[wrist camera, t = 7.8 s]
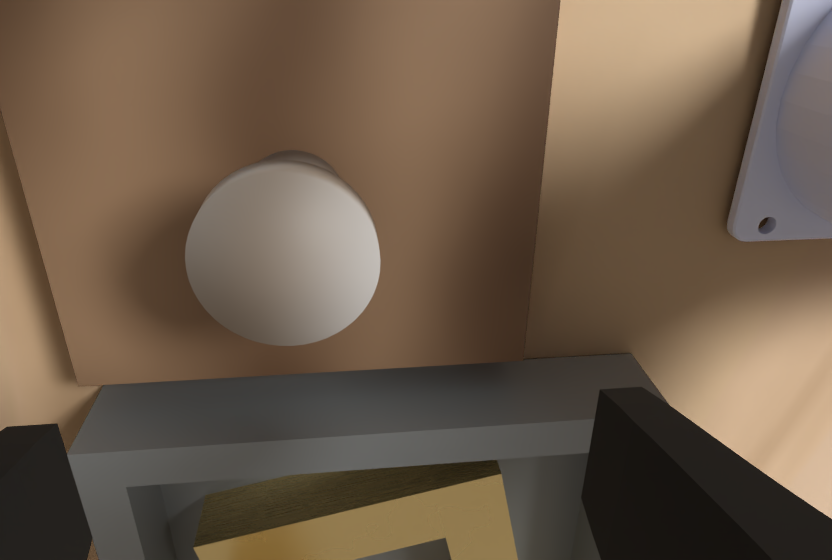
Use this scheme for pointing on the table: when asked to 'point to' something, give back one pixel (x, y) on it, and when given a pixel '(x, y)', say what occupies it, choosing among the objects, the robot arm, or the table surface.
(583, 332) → the table surface
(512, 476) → the tray
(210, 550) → the ring
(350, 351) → the stake base
